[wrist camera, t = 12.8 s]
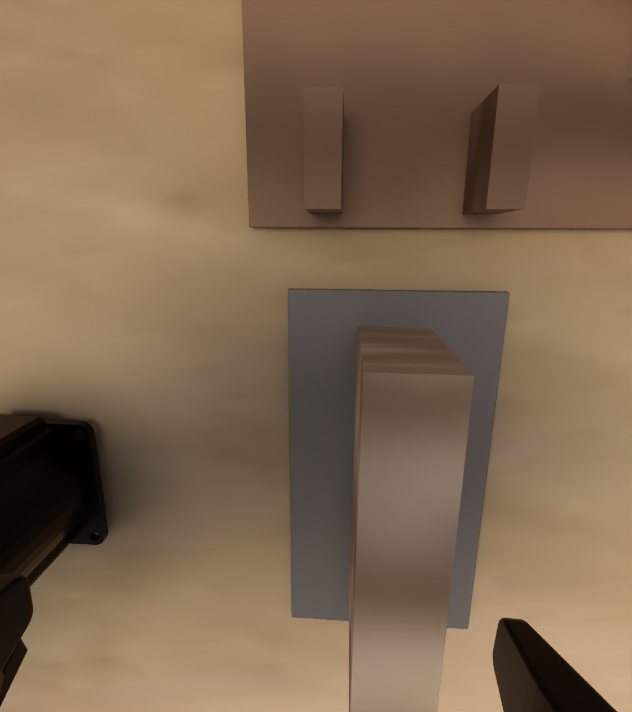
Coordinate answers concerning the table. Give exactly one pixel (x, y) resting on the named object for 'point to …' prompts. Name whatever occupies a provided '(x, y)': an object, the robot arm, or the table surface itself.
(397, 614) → the plywood sheet
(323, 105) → the offcut rack
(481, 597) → the table surface
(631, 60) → the offcut lower
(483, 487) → the slate mat
